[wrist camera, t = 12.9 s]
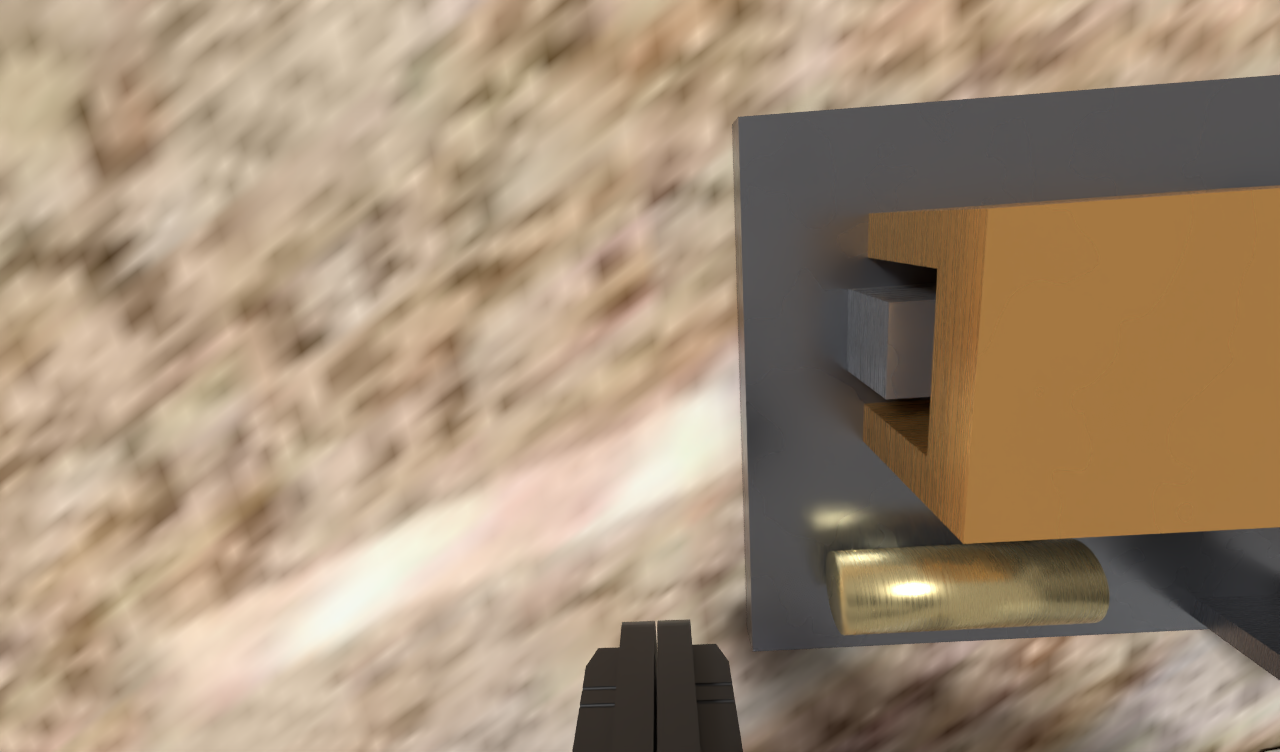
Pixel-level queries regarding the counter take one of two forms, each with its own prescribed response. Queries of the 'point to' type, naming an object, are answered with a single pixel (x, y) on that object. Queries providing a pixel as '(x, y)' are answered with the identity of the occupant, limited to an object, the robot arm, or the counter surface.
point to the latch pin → (965, 586)
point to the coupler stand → (904, 334)
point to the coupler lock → (1093, 365)
